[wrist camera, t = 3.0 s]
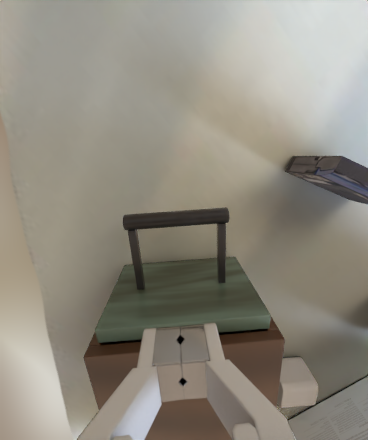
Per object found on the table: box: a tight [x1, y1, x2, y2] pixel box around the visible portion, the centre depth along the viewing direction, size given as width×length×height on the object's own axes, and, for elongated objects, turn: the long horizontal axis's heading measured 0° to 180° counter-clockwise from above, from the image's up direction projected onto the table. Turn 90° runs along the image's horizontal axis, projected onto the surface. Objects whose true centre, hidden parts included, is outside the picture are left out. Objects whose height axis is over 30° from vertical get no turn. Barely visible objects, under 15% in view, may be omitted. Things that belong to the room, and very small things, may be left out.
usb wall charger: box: [277, 357, 319, 408], centre depth 26 cm, size 4×7×4 cm, turn 93°
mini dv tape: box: [285, 156, 368, 204], centre depth 17 cm, size 8×2×6 cm, turn 68°
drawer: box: [95, 208, 271, 344], centre depth 18 cm, size 20×12×8 cm, turn 4°
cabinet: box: [84, 316, 285, 440], centre depth 20 cm, size 15×13×10 cm
